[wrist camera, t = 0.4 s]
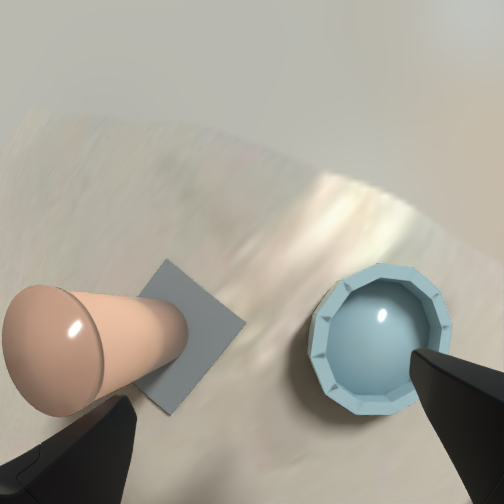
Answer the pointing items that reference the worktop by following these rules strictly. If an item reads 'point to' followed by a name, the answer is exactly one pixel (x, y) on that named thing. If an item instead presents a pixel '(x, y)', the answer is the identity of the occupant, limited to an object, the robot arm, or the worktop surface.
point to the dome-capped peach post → (85, 344)
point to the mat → (199, 336)
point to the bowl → (376, 337)
